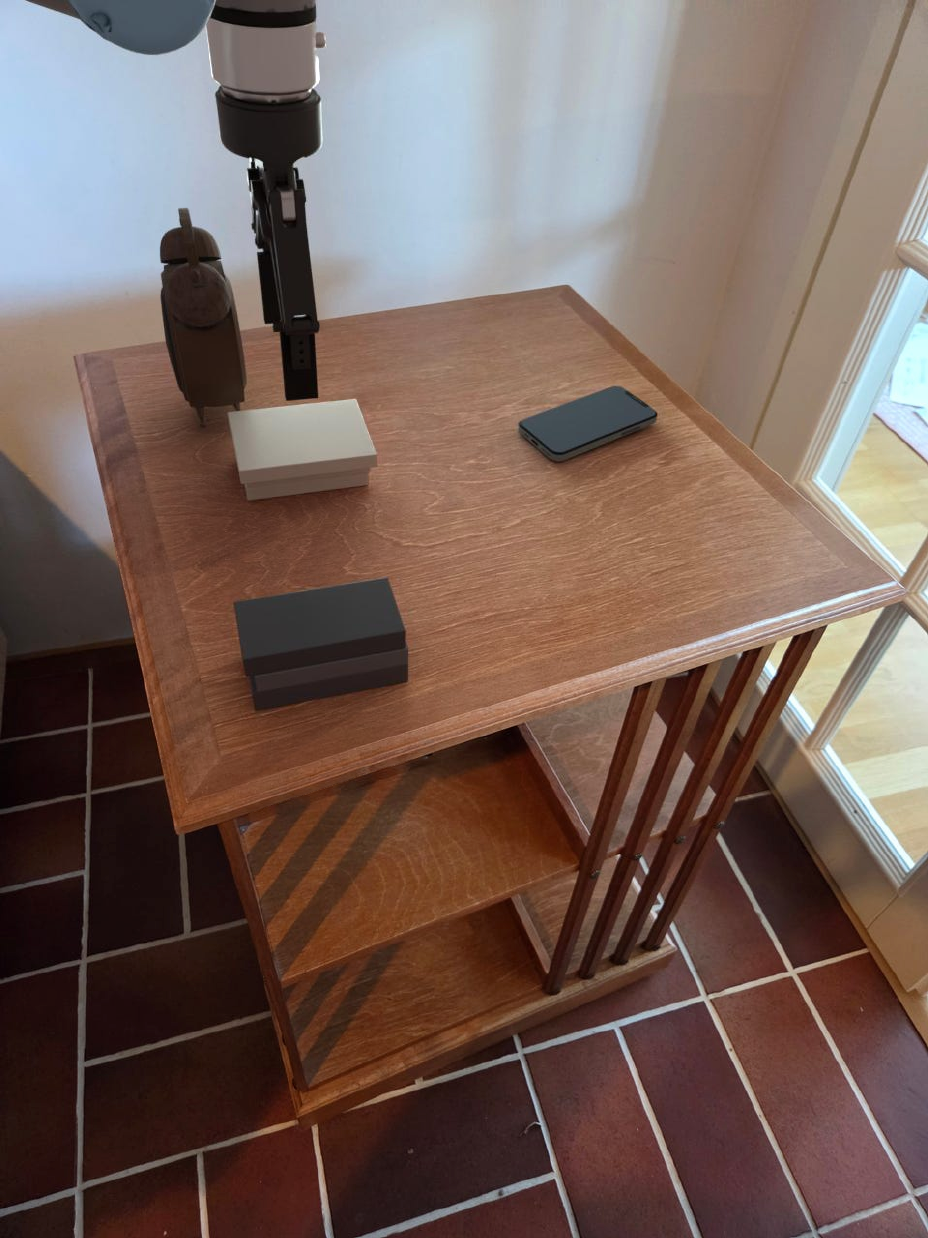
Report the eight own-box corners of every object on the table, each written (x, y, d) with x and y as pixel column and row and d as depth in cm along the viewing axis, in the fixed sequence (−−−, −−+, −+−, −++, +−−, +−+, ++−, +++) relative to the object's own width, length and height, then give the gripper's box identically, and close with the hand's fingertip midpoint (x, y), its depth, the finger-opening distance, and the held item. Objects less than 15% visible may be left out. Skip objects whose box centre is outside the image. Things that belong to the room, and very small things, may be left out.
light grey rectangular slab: (240, 484, 77) (238, 471, 76) (229, 424, 84) (227, 411, 83) (377, 467, 81) (377, 454, 80) (356, 410, 87) (355, 398, 86)
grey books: (252, 711, 63) (242, 660, 59) (243, 653, 67) (233, 601, 63) (407, 681, 66) (409, 631, 62) (390, 627, 70) (390, 576, 66)
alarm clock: (174, 373, 95) (136, 188, 81) (239, 367, 97) (212, 185, 83) (185, 446, 86) (143, 251, 71) (256, 438, 88) (230, 246, 73)
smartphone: (514, 420, 91) (617, 381, 97) (513, 433, 92) (615, 394, 98) (557, 455, 87) (662, 413, 93) (555, 468, 88) (659, 426, 94)
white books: (247, 501, 80) (243, 475, 78) (238, 455, 85) (234, 430, 83) (371, 484, 83) (370, 460, 81) (355, 441, 88) (354, 417, 86)
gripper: (354, 144, 53) (359, 429, 68) (292, 43, 69) (307, 292, 84) (233, 146, 51) (266, 439, 66) (199, 41, 67) (232, 296, 82)
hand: (289, 357), depth 75 cm, fingers open, 13 cm apart
